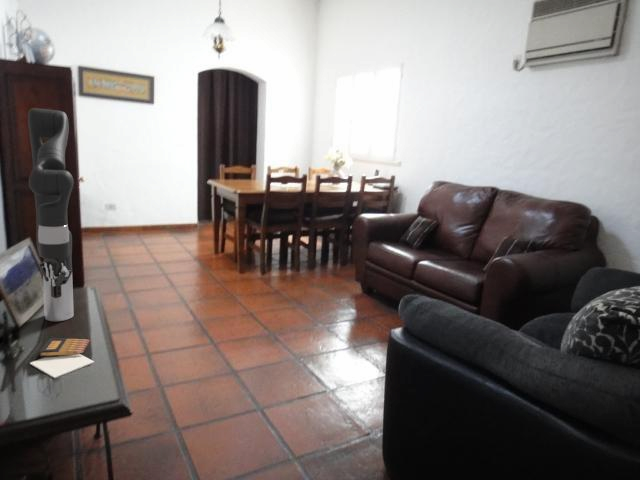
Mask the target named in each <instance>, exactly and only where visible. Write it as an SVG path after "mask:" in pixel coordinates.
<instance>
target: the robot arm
mask: <svg viewBox="0 0 640 480" xmlns="http://www.w3.org/2000/svg"><path fill="white" fill-rule="evenodd" d="M27 123H28V125H27V126H28V131H29V139H30V140H29V141H30V146H31V148H30V149H31V156H32V171H31V173H30V174H29V176H28V187H29V189H30V190H31V191H32V193H34V201H35V203H34V204H35V213H36V225H35V226H36V229H35V231H36V237H35V238H36V249H37V252H38V255H39V257H41V258H42V259H43V262H40V263H39V264H38V267H39V268H40V269H39V270H40V271H41V273H42V278H43V279H42V280H43V282H42V283H43V292H42V295H43V315H44V319H45V320H46V321H49V322H62V321H67V320H69V319H71V318H73V317H74V314H75V313H74V312H75V311H74V290H73V289H74V288H73V287H74V285H73V282H74V281H73V263H72V261H73V260H72V259H73V257H72V254H73V236H72V232H71V231H70V230H69V226H68V225H69V224H68V206H69V202H70V201H69V200H70V199H71V198H70V197H71V194H72V192H73V187H74V184H75V183H74V178H73V175H72V174H71V173H70V172H69V171H68V170H66V149H67V145H68V139H69V132H70V126H69V125H70V122H69V118H68V116H67V114H66V112H64V111H62V110H55V109H48V108H37V107H33V108H30V109H29V111H28V114H27ZM42 139H46V141H45V142H44V143H43V141H42ZM47 139H48V140H47Z"/></svg>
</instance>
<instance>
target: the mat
mask: <svg viewBox="0 0 640 480" xmlns="http://www.w3.org/2000/svg"><path fill="white" fill-rule="evenodd" d="M94 363H95V360H92V359H90V358H88V357H86V356H85V355H83V354H82V353H79V354H70V355H59V356H54V357H41V358H39V359H37V360H33V361H31V362H29V365H31V366H32V367H34V368H36V369H37V370H39V371H41V372H42V373H44V374H45V375H47V376H50V377H51V378H53V379H57V378H61V377H62V376H65V375H68V374H69V373H72V372H75V371H77V370H79V369H82V368H85V367H88V366H89V365H92V364H94Z"/></svg>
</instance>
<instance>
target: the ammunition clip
mask: <svg viewBox="0 0 640 480" xmlns="http://www.w3.org/2000/svg"><path fill="white" fill-rule="evenodd" d="M89 342H91V340H90V339H84V338H83V339H81V338H80V339H79V338H68V337H65V338H63V337H60V338H59V337H55V338H49V339H48V340H47V342H46V343H45V344H44V345H43V347H42V348H41V349H40V350H39V357H40V358H45V357H54V356H59V355H70V354H82V353H84V352H85V350H86V349H87V347H88V345H89V344H90V343H89Z"/></svg>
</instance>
